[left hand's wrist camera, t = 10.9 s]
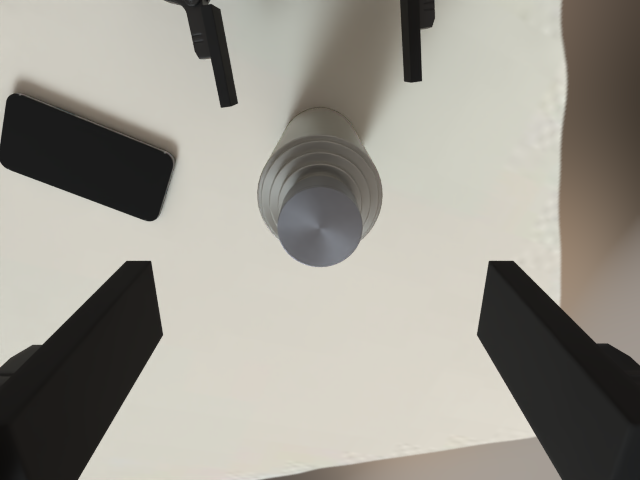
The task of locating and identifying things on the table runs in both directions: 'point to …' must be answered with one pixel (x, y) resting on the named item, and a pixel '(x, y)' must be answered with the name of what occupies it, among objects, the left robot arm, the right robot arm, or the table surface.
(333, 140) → the bottle
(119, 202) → the smartphone
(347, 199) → the cap
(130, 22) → the table surface
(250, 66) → the table surface
